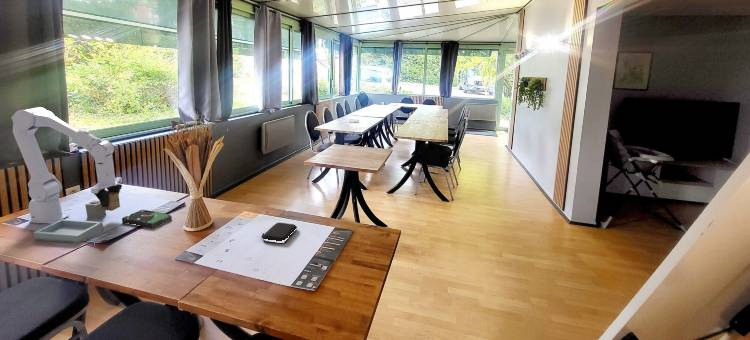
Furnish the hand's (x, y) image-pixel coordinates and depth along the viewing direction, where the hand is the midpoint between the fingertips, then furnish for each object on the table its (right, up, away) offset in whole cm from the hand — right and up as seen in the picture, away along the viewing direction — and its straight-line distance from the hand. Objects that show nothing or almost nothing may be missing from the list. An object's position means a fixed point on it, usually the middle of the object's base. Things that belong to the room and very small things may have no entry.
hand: (110, 204), depth 155 cm
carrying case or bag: (+69, -12, -3) cm, 70 cm away
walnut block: (0, -2, 0) cm, 2 cm away
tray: (-6, -10, -12) cm, 17 cm away
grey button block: (-8, -5, +4) cm, 11 cm away
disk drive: (+14, -8, +3) cm, 16 cm away
